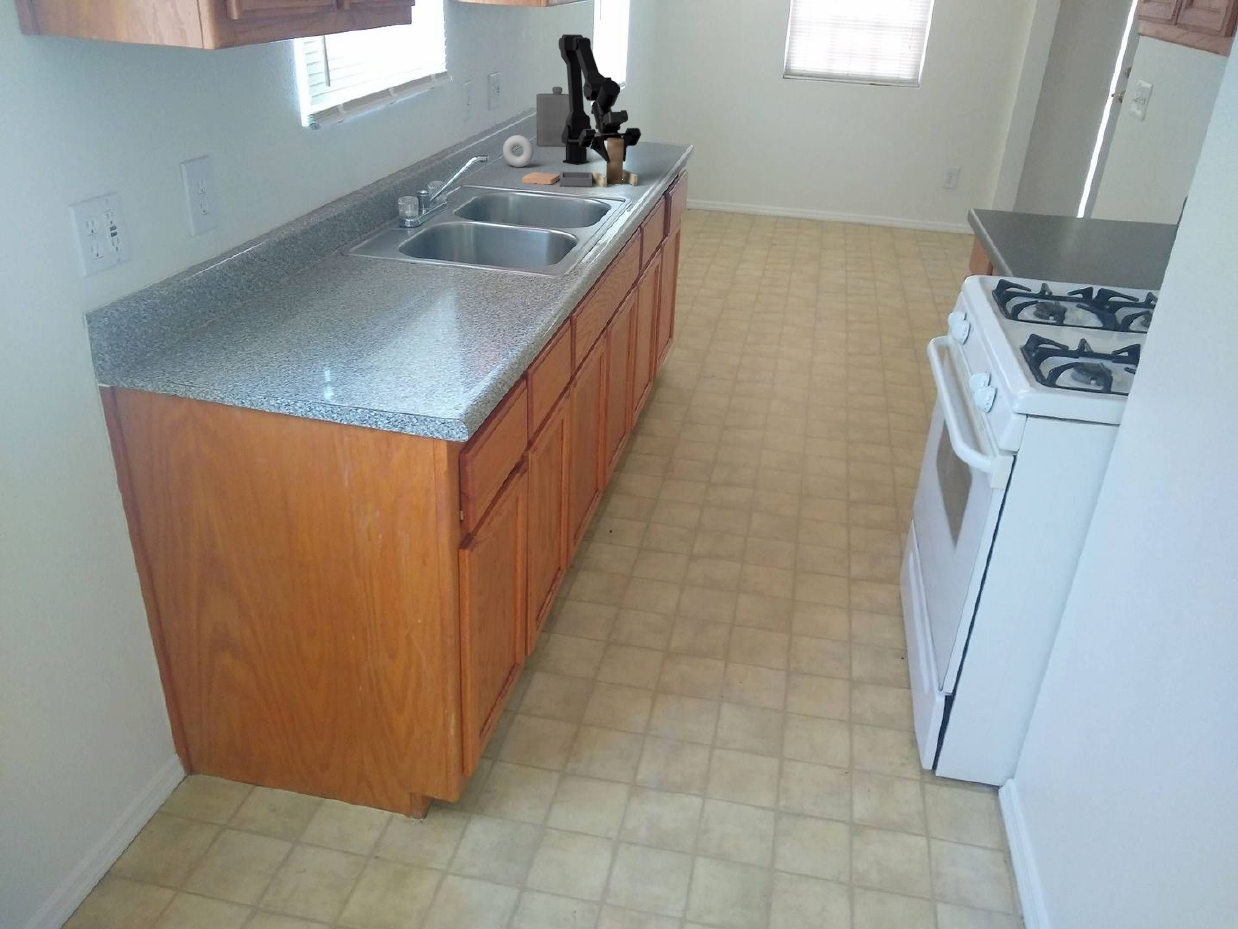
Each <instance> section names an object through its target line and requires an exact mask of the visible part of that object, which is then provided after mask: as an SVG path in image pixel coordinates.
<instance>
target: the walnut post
mask: <svg viewBox="0 0 1238 929" xmlns="http://www.w3.org/2000/svg"><path fill="white" fill-rule="evenodd" d="M623 149H624V139H622V138H608V139H607V141H606V150H607V153H608V156H609V162H608V163H607V162H606V164H605V165H606V167H605V168H606V171H605V172H606V174H605V177H607V185H609V184H621V185H623V180H622V178H623V169H624V162H623Z"/></svg>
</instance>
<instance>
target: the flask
mask: <svg viewBox="0 0 1238 929" xmlns="http://www.w3.org/2000/svg"><path fill="white" fill-rule="evenodd" d="M535 98H536V146H537V147H541V148H545V147H546V148H548V147H549V148H550V147H557V148H558V147H560V148H561V147H562V148H566V144H564V143H562V138H561V136H562V133H563V130H564V128H565V126H566V119H567V117H568V115H569V113H570V108H569V93H563V88H562V87H561V86H553V87H552V93H537V94H536V97H535Z"/></svg>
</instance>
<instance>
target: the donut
mask: <svg viewBox="0 0 1238 929" xmlns="http://www.w3.org/2000/svg"><path fill="white" fill-rule="evenodd" d="M516 147H520V148H521V149H522V154H521V155H520V156H517V155H515V153H514V148H516ZM502 154H503V157H504V160H505V161H506V163H508V165H510V166H512V167H515V168H522V167H525V166H527V165H528V164H529V163H530V162H532V159H533V157H534V146H533V145H532V142H531V141H530V140H529V139H528V138H527V137H526V136H523V135H519V134H517V135H516V134H515V135H511V136H509V137H508V138H507V139H506V140H505V142H504V143H503V146H502Z"/></svg>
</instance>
